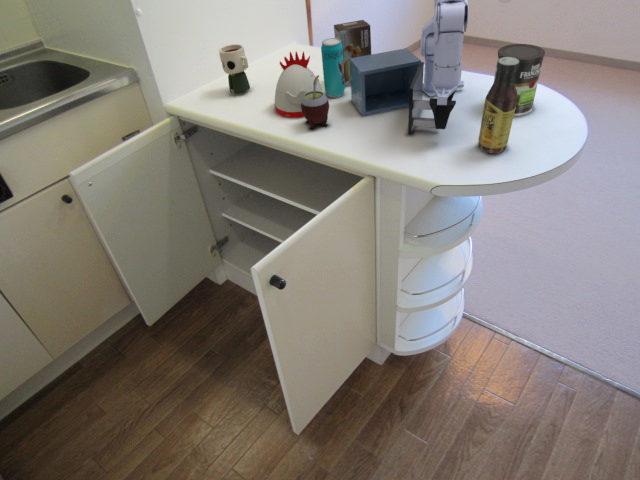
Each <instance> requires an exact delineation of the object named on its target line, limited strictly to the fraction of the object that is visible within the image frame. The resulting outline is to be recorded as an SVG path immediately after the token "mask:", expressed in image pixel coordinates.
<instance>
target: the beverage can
mask: <svg viewBox="0 0 640 480" xmlns="http://www.w3.org/2000/svg"><path fill="white" fill-rule="evenodd" d="M320 52H321V62H322V73H323V84H324V85H323V86H324V92H325V95H326V97H327V98H331V99H337V98H341V97H343V96H344V93H345V89H346V87H345V81H344V64H343V48H342V44H341V40H340V39H338V38H335V37H328V38H325V39H323V40H321V47H320Z"/></svg>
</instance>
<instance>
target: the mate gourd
mask: <svg viewBox="0 0 640 480" xmlns="http://www.w3.org/2000/svg"><path fill="white" fill-rule="evenodd" d="M319 77H320V75H319V74H317V76H316V78H315V79H314V82H313V85H314V91H312V92H308V93H306V94H305V95H304V96H303V98H302V101H301V110H302V113H303V115H304V117H303V118H304V119H305V120H306V121H305V123H306V124H309V126H310V127H309V130H311V131H313V130H314V129H315V128H316V127H318V126H320V127H325V128H327V127H328V126H329V124H328V123H327V122H328V117H329V112H330V111H329V110H330V103H329V100H328V98H329V97H328V96H327V94H326V93H324V91H323V92H320V91H316V84H317V79H319Z"/></svg>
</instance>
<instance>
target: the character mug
mask: <svg viewBox="0 0 640 480" xmlns="http://www.w3.org/2000/svg"><path fill="white" fill-rule="evenodd" d="M218 52H219V53H218V54H219V60H220V62H221V67H222V71H224V73H225V74H227V75H228V76H227V78H228V88H229V92H230V94H232V93H233V94H234V95H241V94H244V93H246V92H247V91H249V90H250V89H251V86H250V85H251V84H250V82H249V79H248V76H247V73H246V72H245V71H246V70H247V69H249V62H248V58H247V56H246V52H245V48H244V46H243V45H242V44H240V43H231V44H227V45H224V46H222V47H220V48H219V49H218Z"/></svg>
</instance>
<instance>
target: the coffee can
mask: <svg viewBox="0 0 640 480" xmlns="http://www.w3.org/2000/svg"><path fill="white" fill-rule="evenodd" d="M545 55H546V50H545V49H544V48H542V47H540V46H538V45H534V44H529V43H513V44H507V45H504V46H501V47H499V48H498V50H497V59H496V66H495V72H494V78H493V82H494V81H495V78H496V73H497V63H498V60H499V59H500V58H503V57H513V58H516V59H518V60H519V67H518V69H517V72H516V76H515V82H514V85H515V87H516V89H517V100H516V104H515V105H516V107H515V112H514V116H513V117H522V116H525V115H528V114H530V113H531V112H532V110H533V107H534V102H535V96H536V92H537V88H538V83H539V78H540V74H541V69H542V66H543V61H544V57H545Z"/></svg>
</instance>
